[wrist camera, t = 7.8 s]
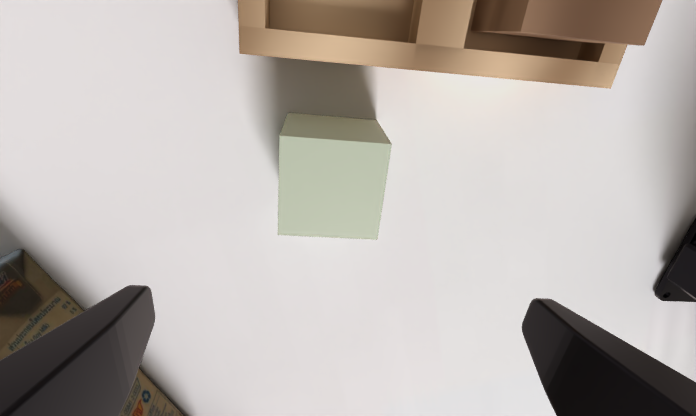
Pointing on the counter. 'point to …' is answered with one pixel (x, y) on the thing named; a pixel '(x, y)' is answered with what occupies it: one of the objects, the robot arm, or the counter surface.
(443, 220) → the counter surface
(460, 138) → the counter surface
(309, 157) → the sage cube
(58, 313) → the beverage carton
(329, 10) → the box
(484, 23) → the walnut cube
